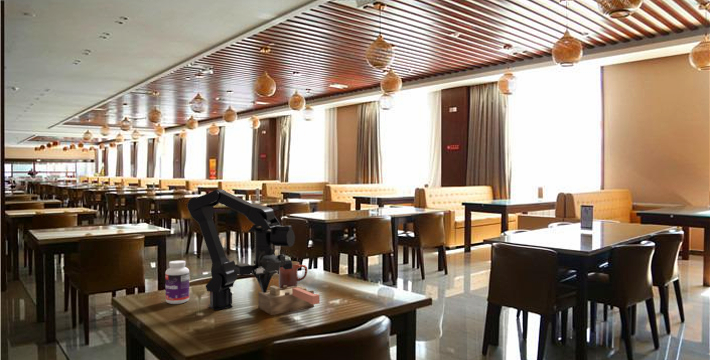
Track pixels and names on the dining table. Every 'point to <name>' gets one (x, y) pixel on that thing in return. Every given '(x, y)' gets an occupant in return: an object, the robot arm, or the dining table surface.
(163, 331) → the dining table surface
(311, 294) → the salmon pink rectangular bar
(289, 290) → the sliding box lid
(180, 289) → the pill bottle
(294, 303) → the toolbox
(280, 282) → the mug
